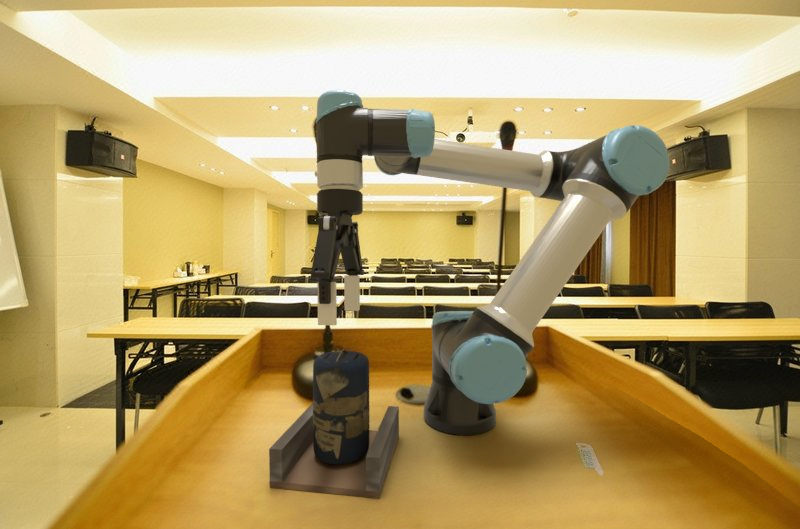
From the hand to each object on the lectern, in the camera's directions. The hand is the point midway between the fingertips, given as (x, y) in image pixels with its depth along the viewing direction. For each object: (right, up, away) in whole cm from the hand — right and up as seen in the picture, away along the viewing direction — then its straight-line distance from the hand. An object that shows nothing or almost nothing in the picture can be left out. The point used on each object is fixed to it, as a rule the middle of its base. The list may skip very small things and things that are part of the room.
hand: (341, 317), depth 64 cm
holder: (0, -25, +1) cm, 25 cm away
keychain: (+43, -25, +2) cm, 49 cm away
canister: (0, -24, +1) cm, 24 cm away
